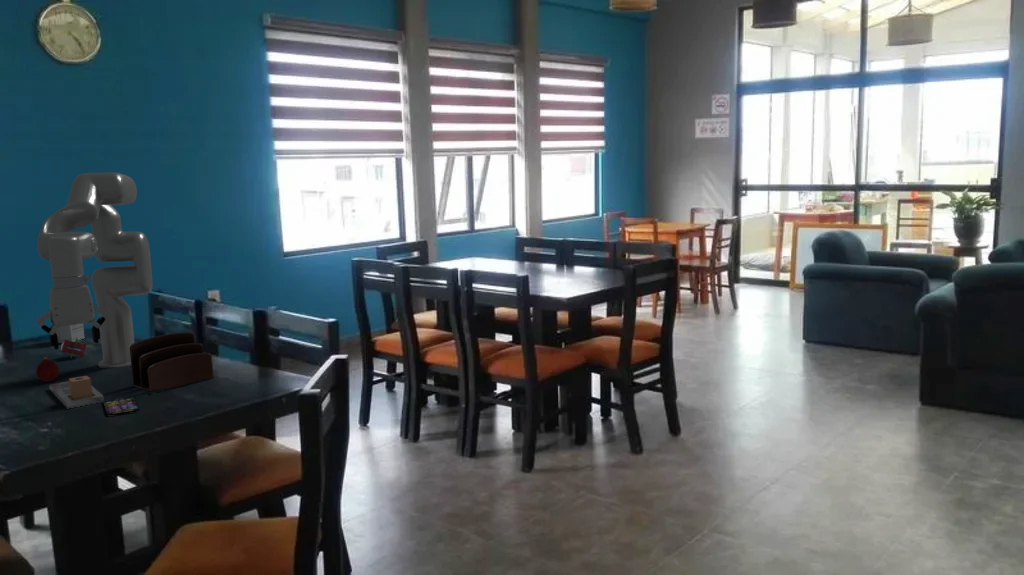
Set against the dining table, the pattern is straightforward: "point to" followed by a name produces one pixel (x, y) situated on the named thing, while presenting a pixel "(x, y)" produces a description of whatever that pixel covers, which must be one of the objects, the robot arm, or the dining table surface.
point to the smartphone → (121, 406)
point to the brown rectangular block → (80, 387)
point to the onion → (47, 370)
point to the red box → (73, 348)
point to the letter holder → (169, 362)
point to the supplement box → (70, 333)
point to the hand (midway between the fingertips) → (76, 345)
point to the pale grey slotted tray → (65, 397)
